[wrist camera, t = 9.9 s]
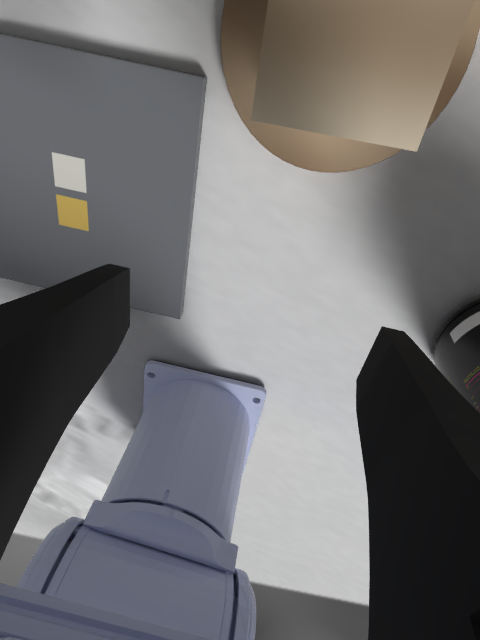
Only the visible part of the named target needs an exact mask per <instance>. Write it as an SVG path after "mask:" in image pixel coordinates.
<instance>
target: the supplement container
mask: <svg viewBox="0 0 480 640" xmlns="http://www.w3.org/2000/svg"><path fill="white" fill-rule="evenodd" d="M434 362H435V365H436V367H437V369H438V370H439V371H440V372H441V373H442V374H443V375H444V376H445V378H446V379H447V380H448V381H449V382H450V383H451V384H452V385H453V386H454V387H455V388H456V389H457V391H458V392H459V393H460V394H461V395H462V396H463V397H464V398H465V399H466V400H467V401H468V402H469V403H470V404H471V405H472V406H473V407H474V408H475V409H476V410H477V411H478V412H479V413H480V299H478V300H476V301H474V302H472V303H470V304H468V305H466V306H465V307H463V308H462V309H460V310H459V311H458V312H456V313H455V314H454V315H453V316H452V317H451V318H450V319H449V320H448V321H447V322H446V323H445V325H444V326H443V327H442V329H441V331H440V332H439V334H438V337H437V339H436V343H435V347H434Z"/></svg>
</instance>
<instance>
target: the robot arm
mask: <svg viewBox="0 0 480 640" xmlns="http://www.w3.org/2000/svg"><path fill="white" fill-rule="evenodd" d="M129 326H130V268H127V267H122V266H118V265H114V264H106V265H103V266H100V267H98V268H95V269H92V270H90V271H88V272H85V273H83V274H80V275H78V276H76V277H73V278H71V279H68V280H66V281H63V282H61V283H58V284H56V285H54V286H51V287H49V288H46V289H43V290H41V291H38V292H35V293H32V294H30V295H27V296H24V297H21V298H18V299H16V300H13V301H10V302H7V303H4V304H1V305H0V560H1V557H2V555H3V553H4V551H5V548H6V546H7V544H8V542H9V540H10V537H11V535H12V533H13V531H14V529H15V527H16V524H17V522H18V520H19V518H20V516H21V514H22V512H23V510H24V508H25V506H26V504H27V502H28V500H29V497H30V495H31V493H32V491H33V489H34V487H35V485H36V483H37V481H38V479H39V478H40V476H41V474H42V472H43V470H44V468H45V466H46V464H47V462H48V460H49V458H50V456H51V454H52V452H53V451H54V449H55V447H56V445H57V443H58V441H59V440H60V438H61V436H62V434H63V432H64V430H65V429H66V427H67V425H68V424H69V422H70V420H71V419H72V417H73V416H74V414H75V412H76V411H77V410H78V408H79V407H80V405H81V404H82V402H83V401H84V399H85V398H86V397H87V395H88V394H89V392H90V391H91V389H92V388H93V387H94V385H95V384H96V382H97V381H98V379H99V378H100V376H101V375H102V374H103V372H104V371H105V369H106V368H107V366H108V365H109V363H110V362H111V360H112V359H113V357H114V356H115V354H116V353H117V351H118V349H119V347H120V345H121V343H122V341H123V339H124V337H125V335H126V333H127V331H128V328H129ZM150 372H152V373H154V374H151V373H150ZM265 397H266V390H265V388H263V387H261V386H258V385H254V384H250V383H246V382H241V381H237V380H233V379H229V378H225V377H220V376H216V375H212V374H208V373H204V372H199V371H195V370H191V369H187V368H183V367H178V366H174V365H170V364H166V363H162V362H157V361H152V360H151V361H148V362H147V363H146V365H145V367H144V392H143V414H142V417H141V419H140V421H139V423H138V425H137V427H136V429H135V431H134V433H133V435H132V438H131V440H130V442H129V444H128V446H127V448H126V450H125V452H124V454H123V456H122V459H121V461H120V463H119V465H118V467H117V469H116V471H115V473H114V475H113V477H112V480H111V482H110V484H109V486H108V488H107V490H106V492H105V494H104V496H103V498H102V501H99V500H94V502H93V504H92V506H91V508H90V510H89V512H88V514H87V516H86V518H85V520H83V519H80V518H77V517H71V518H69V519H67V520H66V521H65V522H64V523H62V524H60V525H58V526H56V527H55V528H54V529H52V530H51V531H50V533H49V534H48V535H47V536H46V538H45V539H44V540H43V542H42V543H41V545H40V546H39V548H38V550H37V551H36V553H35V554H34V556H33V557H32V559H31V561H30V563H29V565H28V566H27V568H26V570H25V572H24V573H23V575H22V577H21V579H20V581H19V583H18V585H17V587H13V586H9V585H6V584H2V583H0V640H255V628H256V600H255V595H254V591H253V589H252V587H251V585H250V582H249V578H248V576H247V574H246V572H244V571H242V570H239V569H236V568H235V564H236V558H237V551H238V546H237V545H235V544H232V543H230V541H231V535H232V529H233V523H234V518H235V512H236V506H237V500H238V494H239V489H240V483H241V477H242V474H243V471H244V467H245V464H246V461H247V457H248V454H249V451H250V447H251V444H252V441H253V437H254V434H255V431H256V427H257V424H258V421H259V417H260V414H261V411H262V407H263V404H264V401H265ZM255 398H259V399H255ZM356 411H357V419H358V427H359V434H360V441H361V448H362V455H363V462H364V469H365V476H366V483H367V493H368V510H369V553H370V589H369V634H368V635H369V636H368V640H480V413H479V412H478V411H477V410H476V409H475V408H474V407H473V406H472V405H471V404H470V403H469V402H468V401H467V400H466V399H465V398H464V397H463V396H462V395H461V394H460V393H459V392H458V391H457V389H456V388H455V387H454V386H453V385H452V384H451V383H450V382H449V381H448V380H447V379H446V378H445V376H444V375H443V374H442V373H441V372H440V371H439V370H438V369H437V367H436V366H435V365H434V364H433V363H432V362H431V361H430V359H429V358H428V357H427V356H426V355H425V354H424V353H423V351H422V350H421V349H420V348H419V347H418V346H417V345H416V344H415V342H414V341H413V340H412V339H411V338H410V337H409V336H408V335H407V334H406V333H405V332H404V331H399V330H395V329H391V328H386V327H381V330H380V332H379V334H378V336H377V338H376V340H375V342H374V344H373V346H372V348H371V351H370V353H369V355H368V357H367V359H366V361H365V363H364V365H363V367H362V369H361V371H360V374H359V376H358V378H357V387H356Z"/></svg>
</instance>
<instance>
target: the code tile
mask: <svg viewBox="0 0 480 640" xmlns="http://www.w3.org/2000/svg"><path fill="white" fill-rule="evenodd" d="M206 82H207V77H203V76H199V75H194V74H189V73H185V72H180V71H175V70H171V69H166V68H161V67H157V66H152V65H147V64H143V63H138V62H133V61H129V60H124V59H119V58H115V57H110V56H105V55H100V54H96V53H91V52H86V51H82V50H77V49H72V48H68V47H63V46H58V45H54V44H49V43H44V42H40V41H35V40H30V39H26V38H21V37H16V36H12V35H7V34H2V33H0V277H2V278H6V279H11V280H15V281H19V282H23V283H28V284H32V285H36V286H40V287H45V288H49V287H51V286H54V285H56V284H58V283H61V282H63V281H66V280H68V279H71V278H73V277H76V276H78V275H80V274H83V273H85V272H88V271H90V270H92V269H95V268H98V267H100V266H103V265H106V264H114V265H118V266H122V267H127V268H130V308H134V309H139V310H143V311H147V312H151V313H156V314H160V315H164V316H169V317H173V318H177V319H180V318H181V316H182V314H183V306H184V296H185V286H186V276H187V267H188V257H189V247H190V238H191V228H192V218H193V208H194V199H195V189H196V179H197V170H198V160H199V150H200V140H201V131H202V121H203V111H204V102H205V92H206Z"/></svg>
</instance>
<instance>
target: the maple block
mask: <svg viewBox="0 0 480 640" xmlns="http://www.w3.org/2000/svg"><path fill="white" fill-rule="evenodd" d="M474 2H475V0H268V5H267V12H266V19H265V26H264V33H263V40H262V46H261V53H260V60H259V67H258V74H257V81H256V87H255V94H254V101H253V108H252V115H251V120H252V121H257V122H262V123H267V124H273V125H278V126H283V127H288V128H294V129H299V130H304V131H309V132H315V133H320V134H325V135H331V136H336V137H341V138H346V139H352V140H357V141H362V142H367V143H373V144H378V145H383V146H389V147H394V148H399V149H404V150H410V151H415V152H417V150H418V147H419V145H420V142H421V139H422V137H423V134H424V132H425V129H426V126H427V124H428V121H429V119H430V116H431V114H432V111H433V108H434V106H435V103H436V101H437V98H438V95H439V93H440V90H441V88H442V85H443V82H444V80H445V77H446V75H447V72H448V69H449V67H450V64H451V62H452V59H453V56H454V54H455V51H456V49H457V46H458V43H459V41H460V38H461V36H462V33H463V30H464V28H465V25H466V23H467V20H468V17H469V15H470V12H471V10H472V7H473V4H474Z"/></svg>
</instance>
